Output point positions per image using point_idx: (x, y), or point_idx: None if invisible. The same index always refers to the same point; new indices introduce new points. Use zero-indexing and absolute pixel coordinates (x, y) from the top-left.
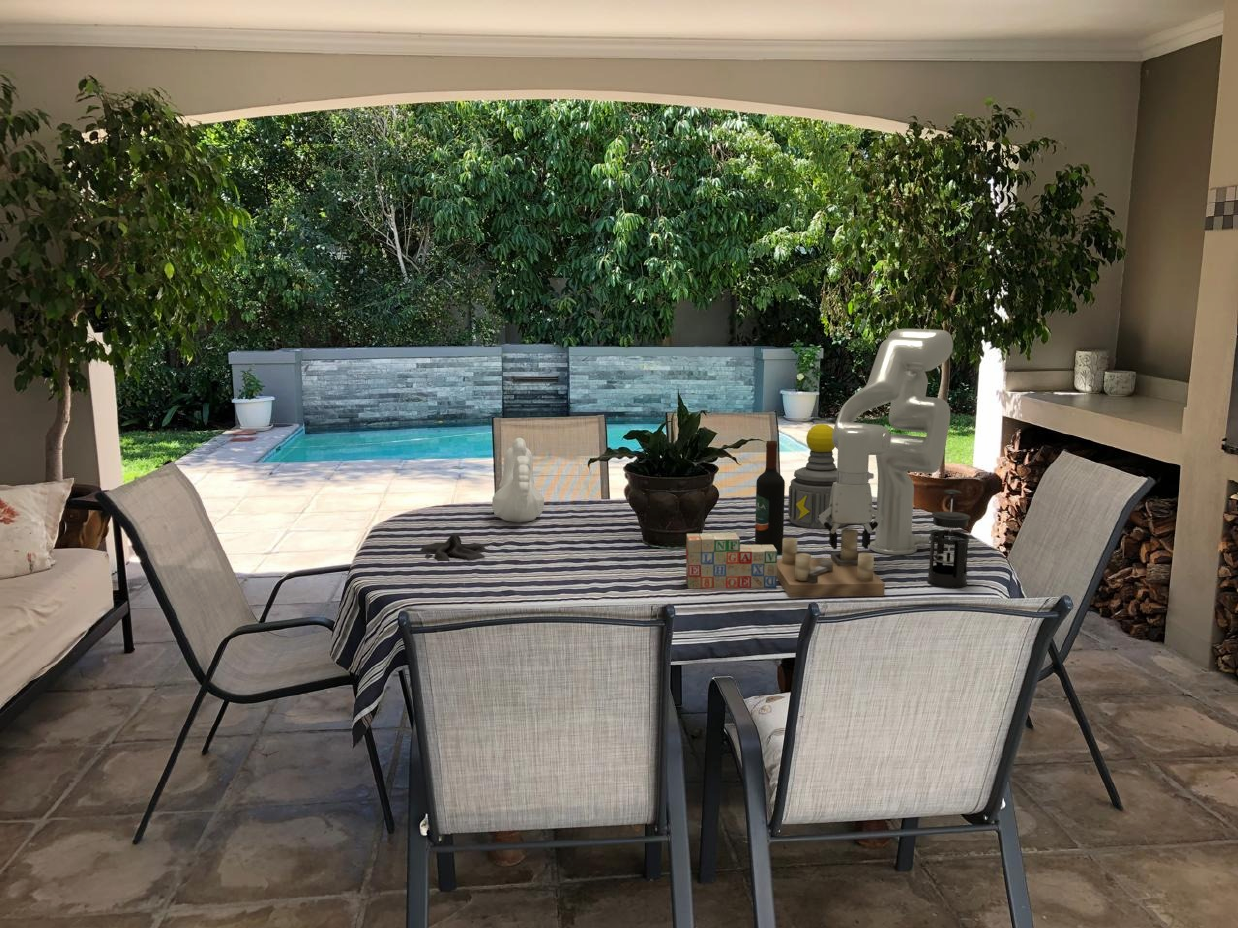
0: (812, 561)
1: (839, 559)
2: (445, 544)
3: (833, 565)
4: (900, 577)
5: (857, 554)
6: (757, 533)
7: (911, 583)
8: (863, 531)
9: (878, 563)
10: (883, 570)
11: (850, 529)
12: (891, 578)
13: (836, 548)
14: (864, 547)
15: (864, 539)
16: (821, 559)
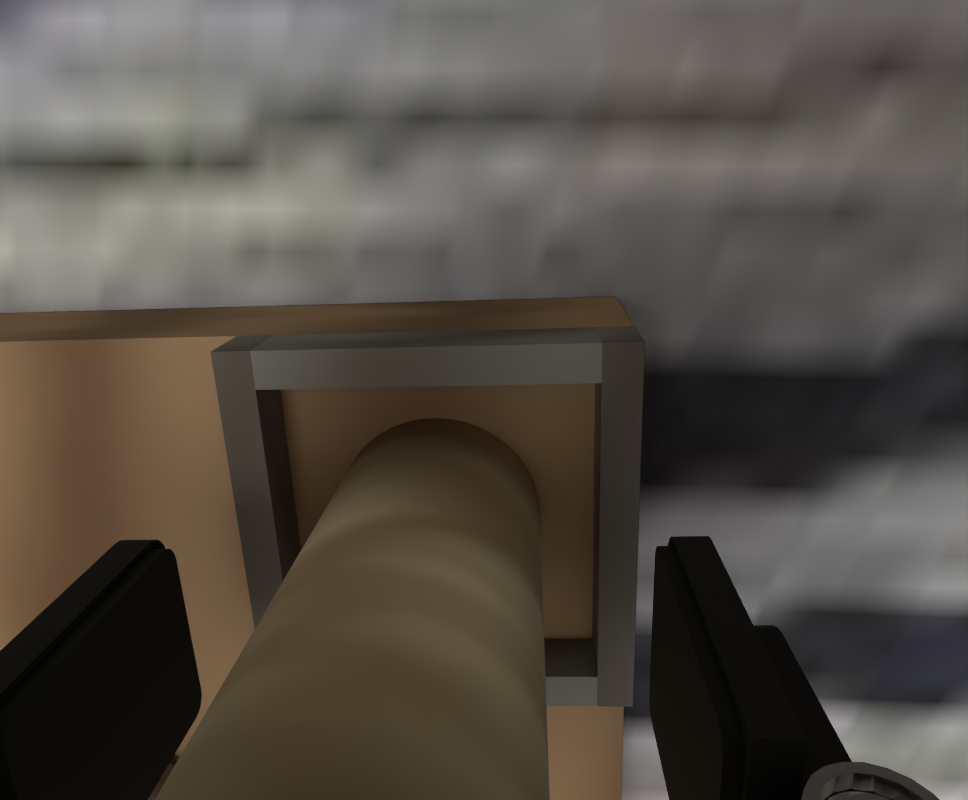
0: (6, 480)
1: (344, 404)
2: None
3: (240, 640)
4: (951, 591)
5: (598, 379)
6: None
7: (964, 757)
8: (740, 766)
9: (959, 18)
10: (884, 345)
11: (391, 774)
12: (844, 617)
13: (197, 703)
14: (651, 693)
15: (679, 780)
16: (115, 399)
